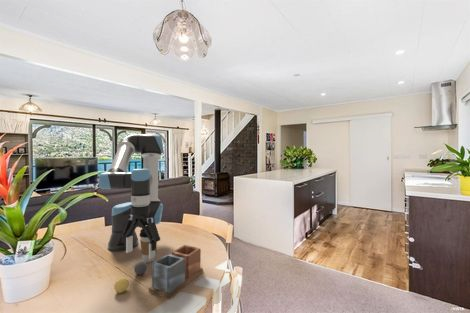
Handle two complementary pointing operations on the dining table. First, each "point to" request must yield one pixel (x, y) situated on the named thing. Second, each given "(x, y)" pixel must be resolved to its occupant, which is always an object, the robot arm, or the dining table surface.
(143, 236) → the coffee cup
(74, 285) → the dining table surface
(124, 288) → the ochre ball
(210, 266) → the dining table surface
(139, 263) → the charcoal ball
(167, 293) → the desk organizer
